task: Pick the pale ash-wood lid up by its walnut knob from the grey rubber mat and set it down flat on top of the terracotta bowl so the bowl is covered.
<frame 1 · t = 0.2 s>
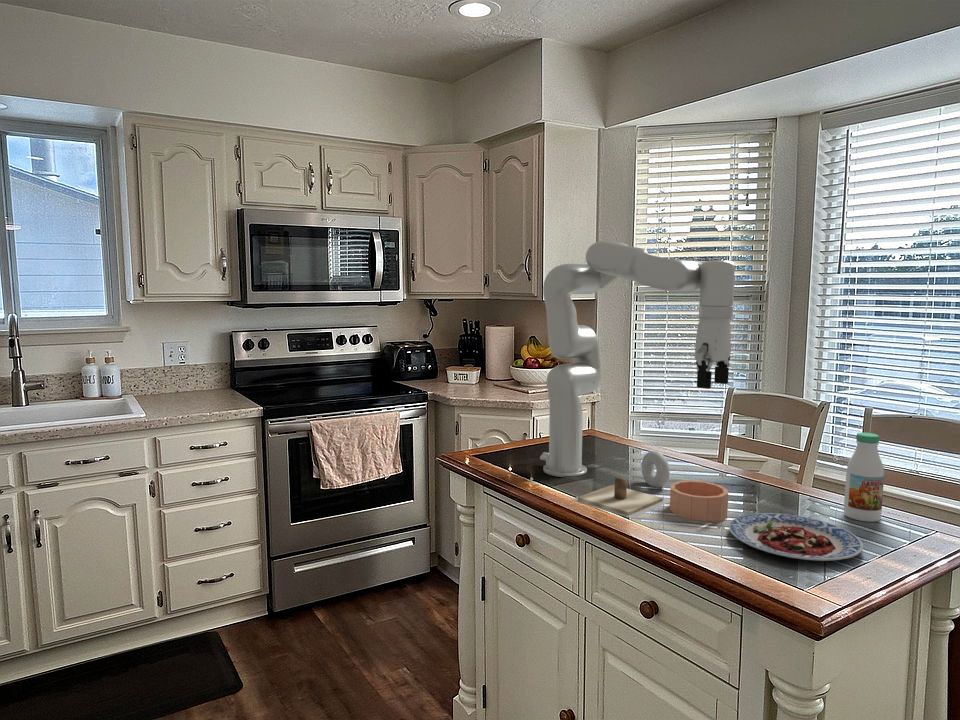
hand: (712, 385, 158), 31 cm above the table, tool pointing down, fingers open, 9 cm apart
donut: (654, 488, 179), on the table
mat: (620, 502, 167), on the table
lid: (620, 500, 167), point 1 cm above the table, touching mat
ceramic plate: (792, 544, 142), on the table
bowl: (697, 513, 160), on the table
milk bottle: (861, 517, 157), on the table
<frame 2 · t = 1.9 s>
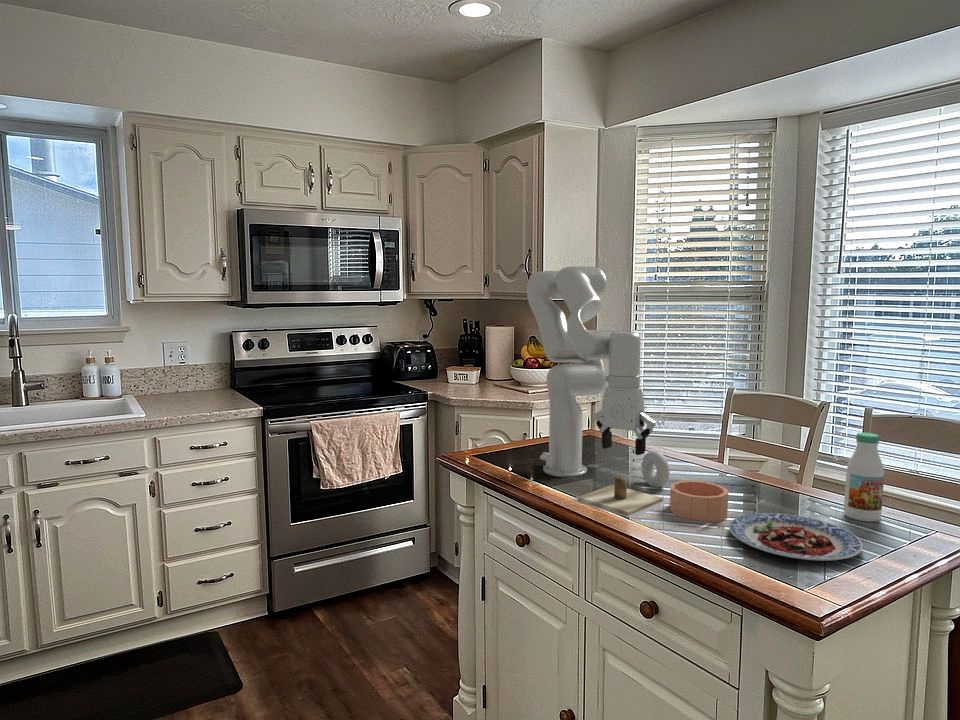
hand: (623, 450, 164), 14 cm above the table, tool pointing down, fingers open, 9 cm apart
nothing on the table moved.
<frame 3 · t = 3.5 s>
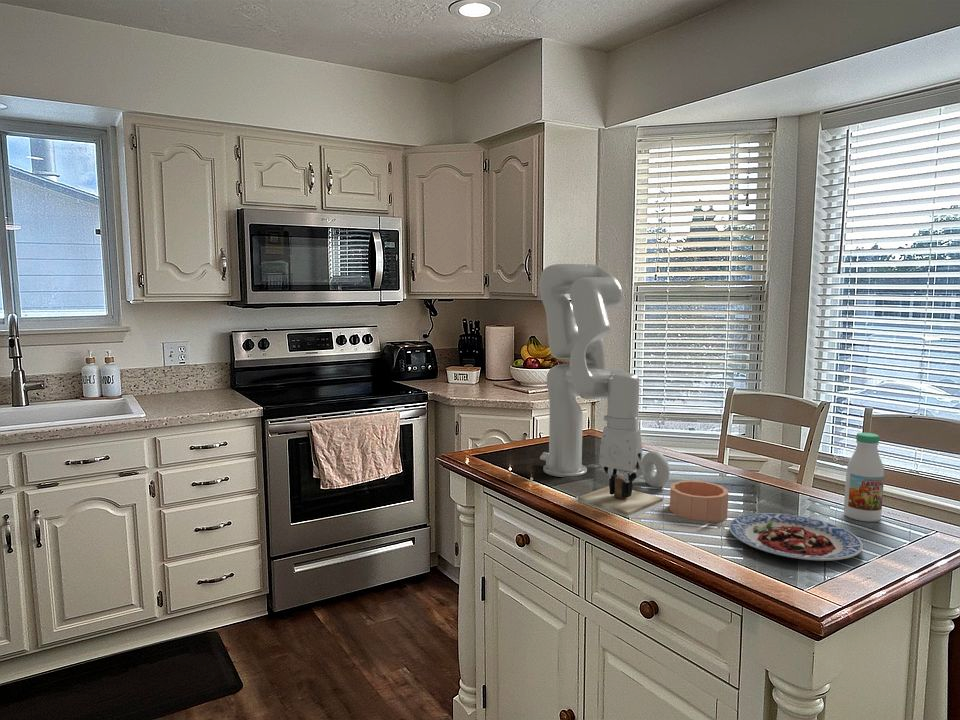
hand: (620, 494, 166), 2 cm above the table, tool pointing down, fingers closed on lid, 3 cm apart
lid: (620, 500, 167), point 1 cm above the table, touching gripper, mat
everything else where it was.
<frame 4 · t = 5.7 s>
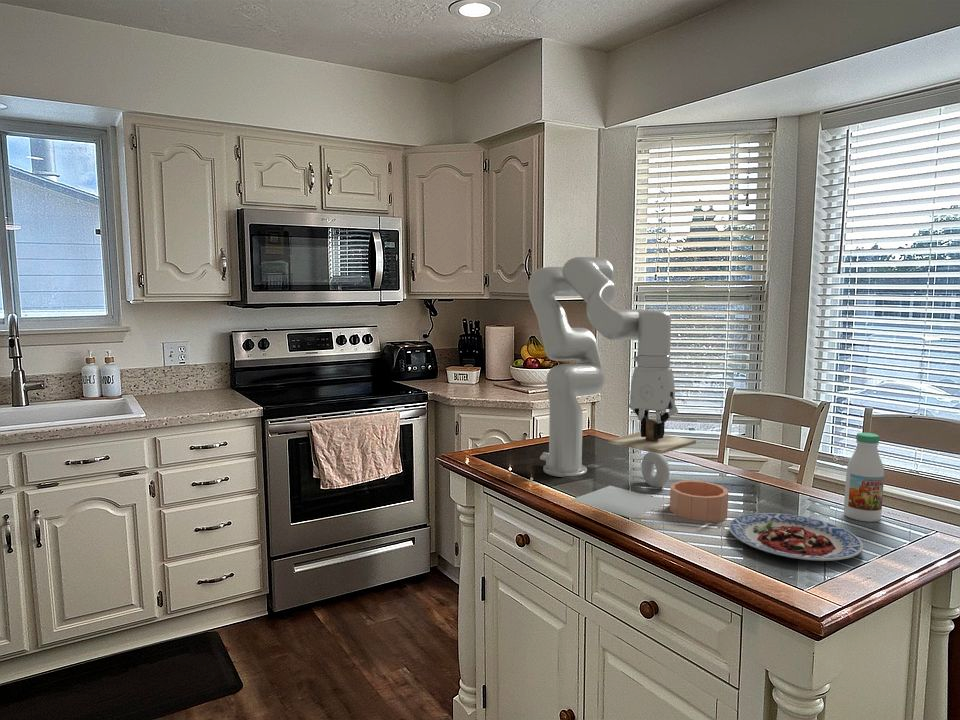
hand: (652, 436, 161), 18 cm above the table, tool pointing down, fingers closed on lid, 3 cm apart
lid: (651, 443, 162), point 16 cm above the table, touching gripper
everything else where it was.
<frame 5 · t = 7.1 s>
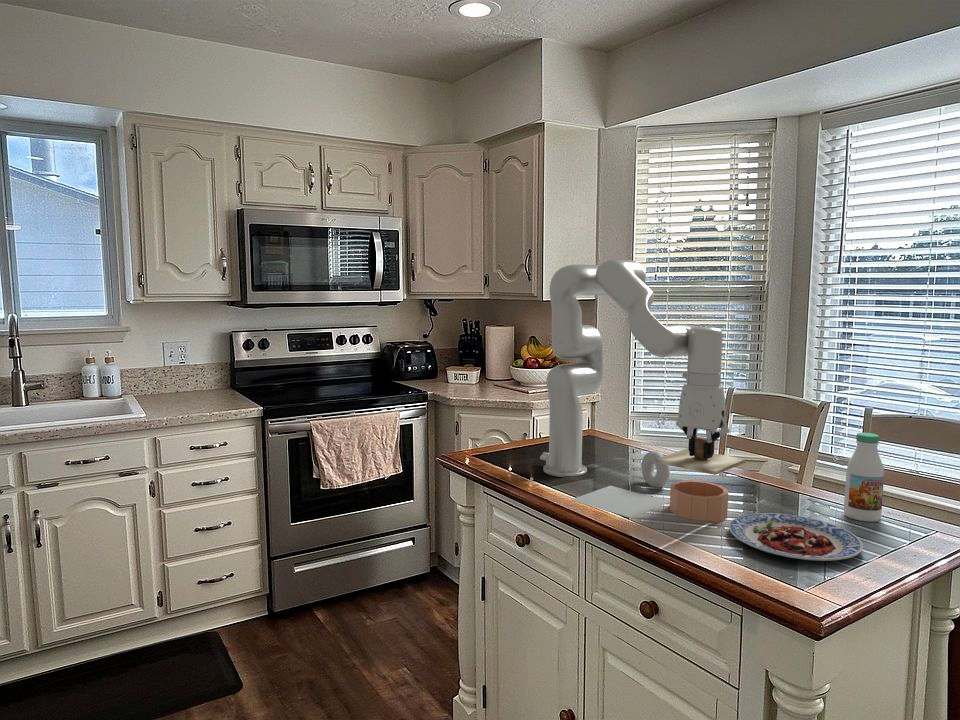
hand: (700, 455, 158), 14 cm above the table, tool pointing down, fingers closed on lid, 3 cm apart
lid: (700, 462, 158), point 13 cm above the table, touching gripper
everything else where it was.
when the fingers open (9 cm above the table, at t = 8.1 s): lid drops 2 cm, resting on bowl.
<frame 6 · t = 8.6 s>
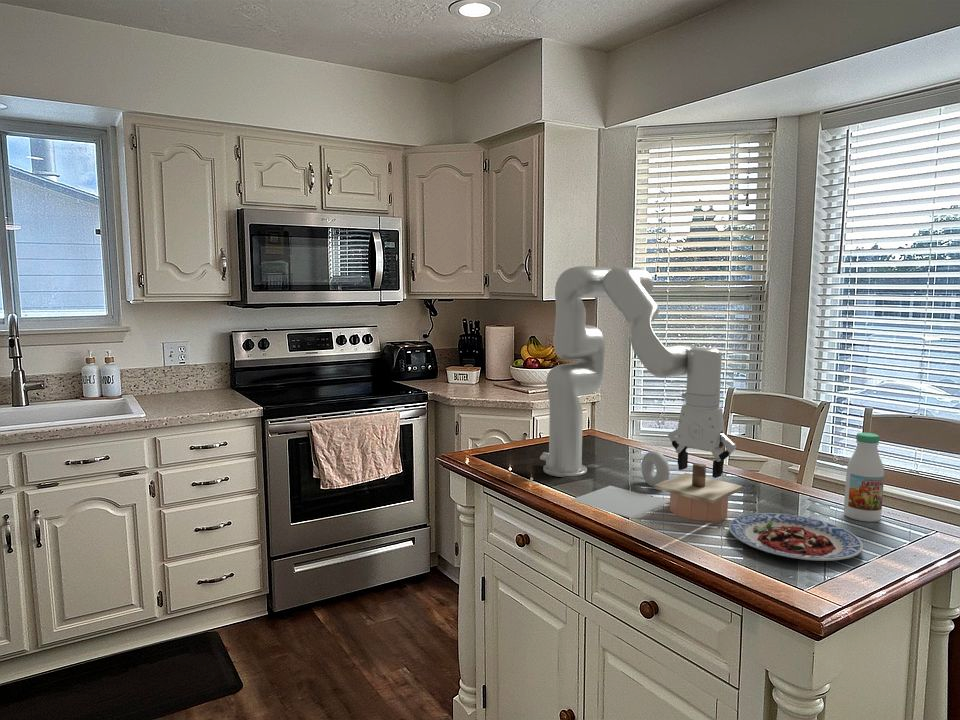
hand: (699, 472, 158), 10 cm above the table, tool pointing down, fingers open, 8 cm apart
lid: (698, 488, 159), point 6 cm above the table, touching bowl
everything else where it was.
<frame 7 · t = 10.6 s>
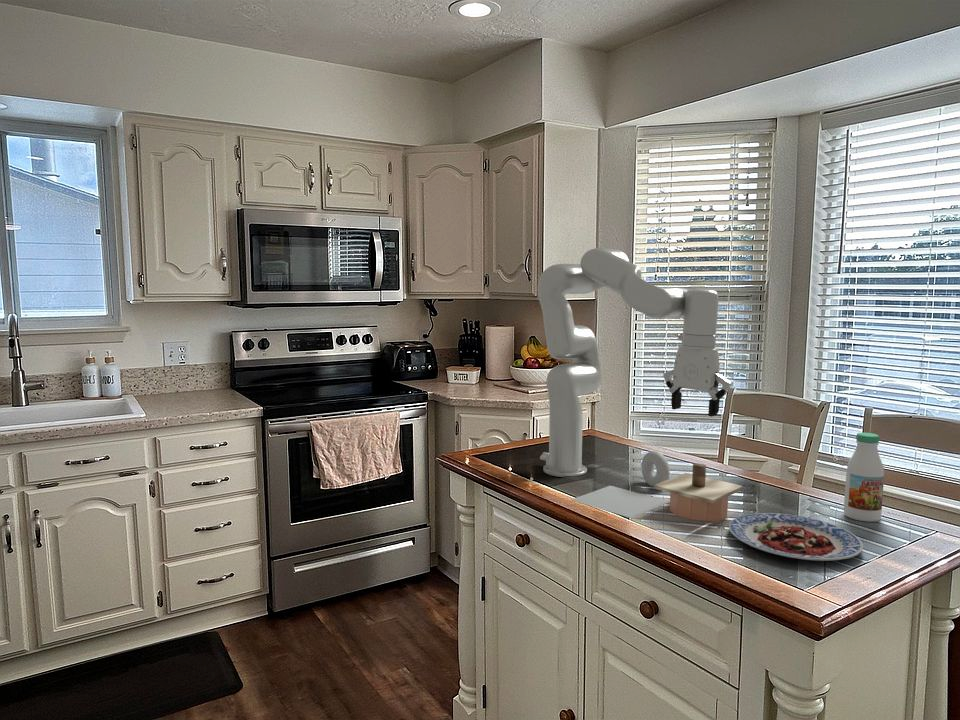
hand: (694, 412, 161), 24 cm above the table, tool pointing down, fingers open, 9 cm apart
nothing on the table moved.
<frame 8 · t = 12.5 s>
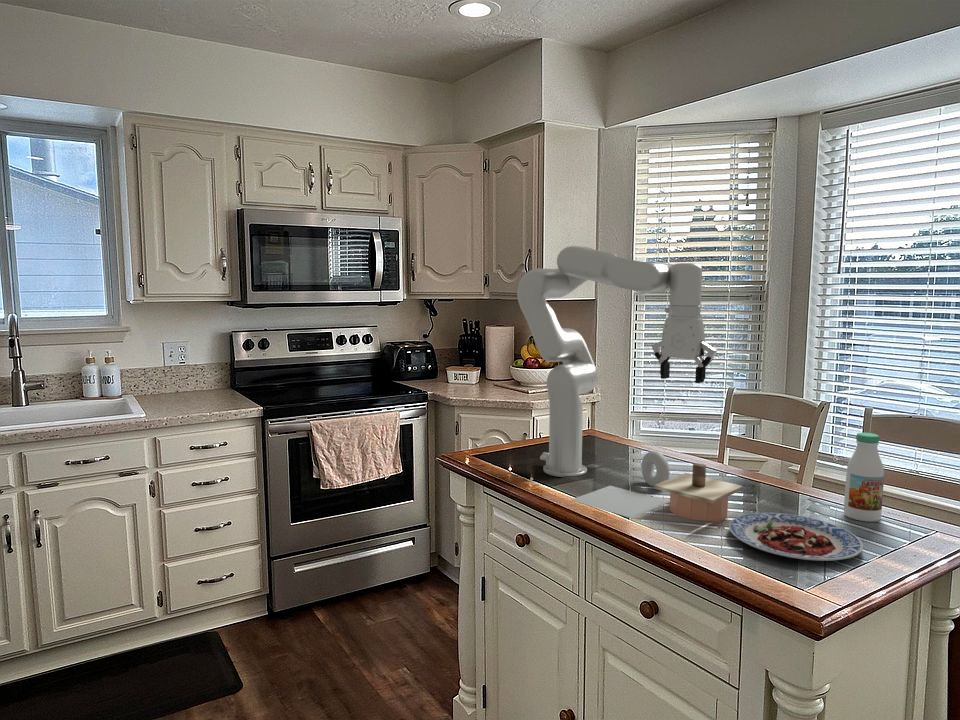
hand: (682, 380, 169), 30 cm above the table, tool pointing down, fingers open, 9 cm apart
nothing on the table moved.
at the end: lid 0.1 cm off-centre on the bowl, point 6.0 cm above the bowl's base; lid tilted 0°; the gripper is holding nothing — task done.
